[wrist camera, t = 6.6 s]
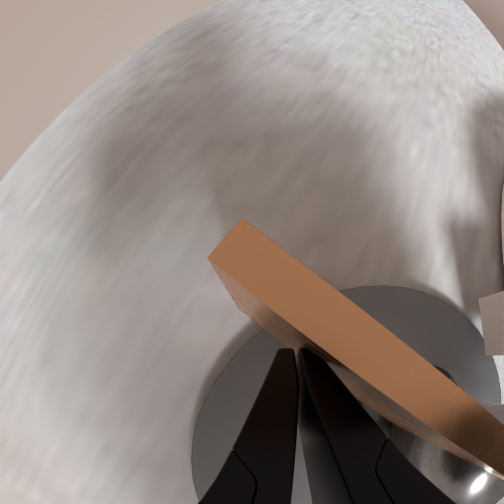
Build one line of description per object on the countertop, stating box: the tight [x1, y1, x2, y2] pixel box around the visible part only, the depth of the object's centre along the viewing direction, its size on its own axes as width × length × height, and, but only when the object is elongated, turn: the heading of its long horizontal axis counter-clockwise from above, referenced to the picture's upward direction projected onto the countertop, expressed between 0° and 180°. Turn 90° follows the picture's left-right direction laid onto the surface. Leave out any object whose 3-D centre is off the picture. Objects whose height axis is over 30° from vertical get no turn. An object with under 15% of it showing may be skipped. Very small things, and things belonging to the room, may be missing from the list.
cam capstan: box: [208, 218, 504, 504], centre depth 8 cm, size 19×6×10 cm, turn 51°
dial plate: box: [191, 286, 501, 504], centre depth 13 cm, size 19×20×1 cm
